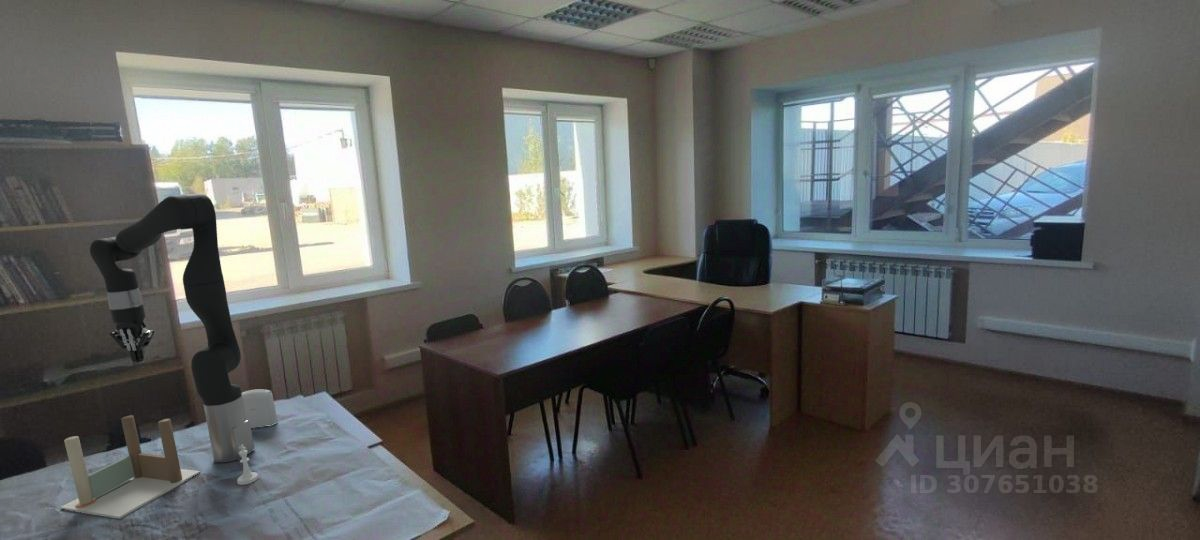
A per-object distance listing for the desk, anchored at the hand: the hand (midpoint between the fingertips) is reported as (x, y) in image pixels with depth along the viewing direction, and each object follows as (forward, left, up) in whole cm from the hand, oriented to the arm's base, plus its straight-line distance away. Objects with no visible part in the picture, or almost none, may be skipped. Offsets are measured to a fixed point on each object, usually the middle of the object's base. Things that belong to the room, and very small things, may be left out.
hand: (138, 361), depth 166 cm
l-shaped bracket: (-12, +25, -26) cm, 38 cm away
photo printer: (-24, -14, -27) cm, 39 cm away
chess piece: (-45, +16, -27) cm, 55 cm away
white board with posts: (-17, +23, -27) cm, 39 cm away
